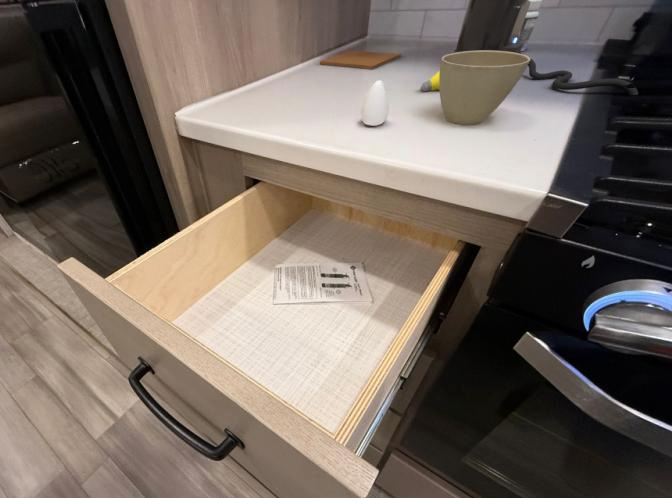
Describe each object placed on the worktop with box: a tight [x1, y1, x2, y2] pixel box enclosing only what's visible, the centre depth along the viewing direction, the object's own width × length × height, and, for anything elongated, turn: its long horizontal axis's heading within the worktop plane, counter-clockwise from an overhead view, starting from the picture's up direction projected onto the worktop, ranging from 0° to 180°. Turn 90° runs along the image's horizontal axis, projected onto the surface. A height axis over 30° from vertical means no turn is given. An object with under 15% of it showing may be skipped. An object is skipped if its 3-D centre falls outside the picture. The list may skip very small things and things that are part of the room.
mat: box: [319, 50, 402, 70], centre depth 76 cm, size 14×13×1 cm
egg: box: [360, 79, 390, 127], centre depth 45 cm, size 4×4×6 cm
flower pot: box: [439, 50, 531, 126], centre depth 43 cm, size 10×10×7 cm
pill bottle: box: [516, 0, 543, 53], centre depth 69 cm, size 5×5×8 cm
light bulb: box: [420, 69, 440, 93], centre depth 55 cm, size 3×6×4 cm, turn 95°
